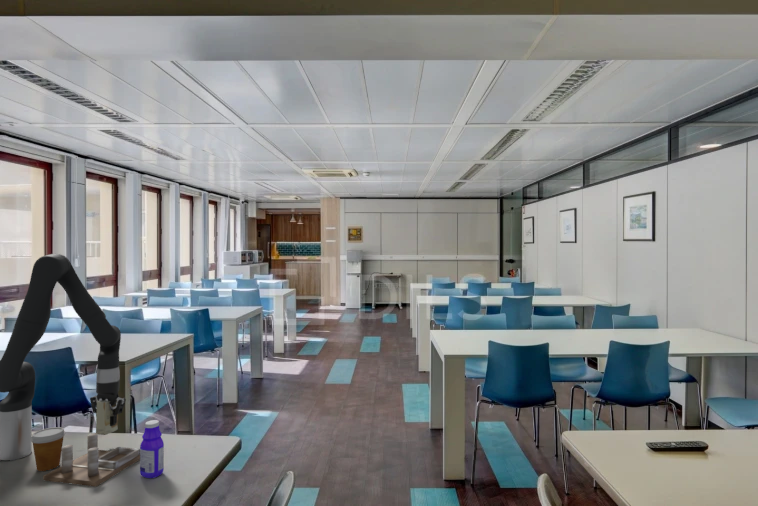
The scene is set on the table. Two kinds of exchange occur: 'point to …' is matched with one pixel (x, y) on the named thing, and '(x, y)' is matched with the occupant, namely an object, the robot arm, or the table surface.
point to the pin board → (83, 472)
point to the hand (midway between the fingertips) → (107, 424)
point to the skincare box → (104, 419)
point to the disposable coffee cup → (48, 447)
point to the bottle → (151, 451)
